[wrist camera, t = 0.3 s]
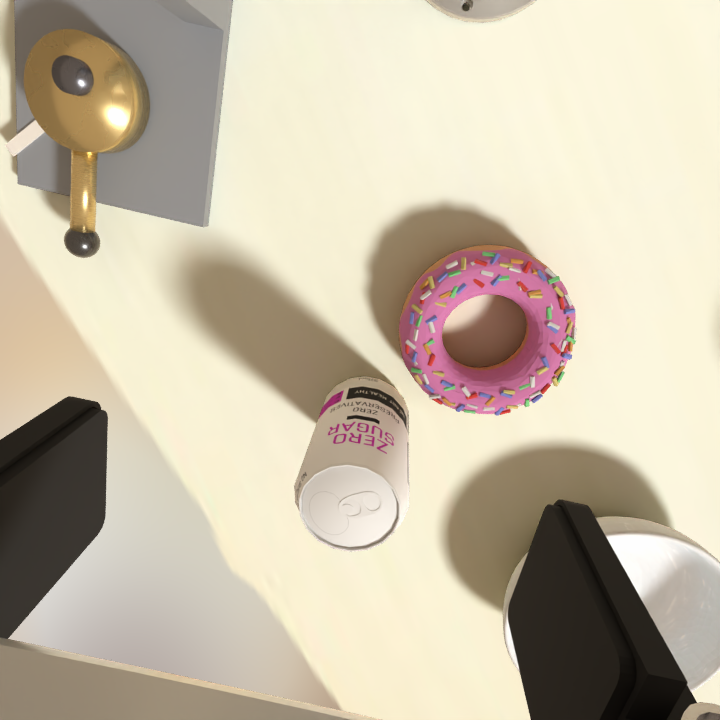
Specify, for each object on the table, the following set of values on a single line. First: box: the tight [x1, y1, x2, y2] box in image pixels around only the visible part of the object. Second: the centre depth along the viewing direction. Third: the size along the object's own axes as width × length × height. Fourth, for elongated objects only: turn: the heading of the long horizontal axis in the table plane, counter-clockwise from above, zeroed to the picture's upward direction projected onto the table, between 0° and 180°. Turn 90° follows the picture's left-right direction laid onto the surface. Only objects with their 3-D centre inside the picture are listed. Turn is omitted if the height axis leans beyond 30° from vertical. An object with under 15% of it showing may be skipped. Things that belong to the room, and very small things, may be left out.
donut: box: [399, 245, 577, 415], centre depth 43 cm, size 14×14×5 cm
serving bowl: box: [503, 516, 720, 692], centre depth 50 cm, size 21×21×7 cm
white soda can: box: [294, 376, 409, 552], centre depth 42 cm, size 8×8×15 cm
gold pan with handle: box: [24, 29, 150, 258], centre depth 40 cm, size 16×8×4 cm, turn 168°
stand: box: [5, 0, 233, 227], centre depth 35 cm, size 20×17×13 cm
